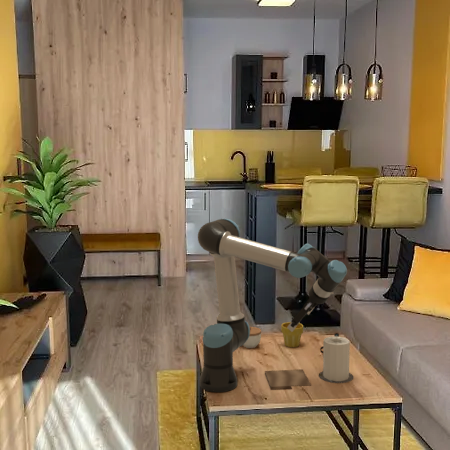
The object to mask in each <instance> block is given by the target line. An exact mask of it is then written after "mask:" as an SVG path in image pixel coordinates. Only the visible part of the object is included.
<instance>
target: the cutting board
mask: <svg viewBox="0 0 450 450" xmlns="http://www.w3.org/2000/svg"><path fill="white" fill-rule="evenodd" d="M264 375H265V378H266V380H267V384H268V386H269V389H270V391H272V390H293V387H307V386H309V387H310V386H312V384H311V381H310V380H309V378H308V377H307V374H306V372H305V371H304V369H302V368H301V369H282V370H281V369H280V370H279V369H277V370H276V369H275V370H265V371H264Z"/></svg>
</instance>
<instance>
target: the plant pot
mask: <svg viewBox="0 0 450 450" xmlns="http://www.w3.org/2000/svg"><path fill="white" fill-rule="evenodd" d="M290 323H291V321H289V322H288V321H287V322H283V323H281V327H280V329H281V331H280V332H281V333H282V336H283V342H284V346H286V347H288V348H298V347H299V346H300V343H301V338H302V334H303V333H304V325H303V324H302V323H299V324H298V325H297V327H296V328H295V329H294V330H293V332H291V331H290V330H289V329H288V328H287V327H288V326H289V324H290Z"/></svg>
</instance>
